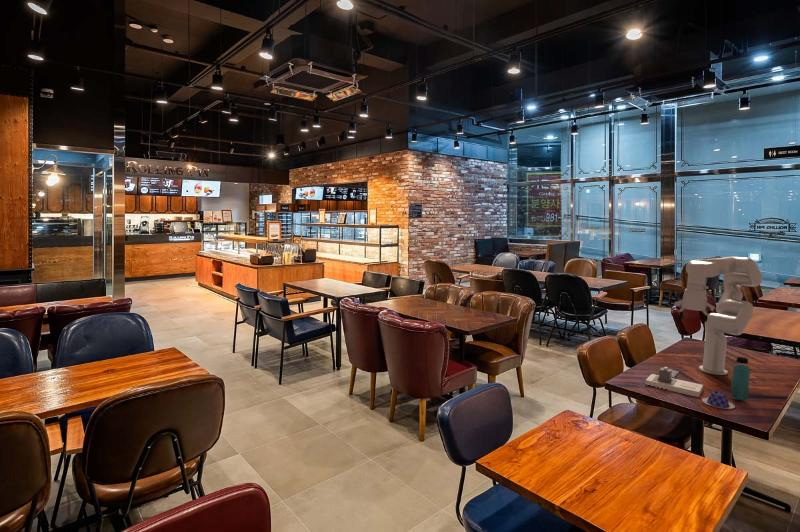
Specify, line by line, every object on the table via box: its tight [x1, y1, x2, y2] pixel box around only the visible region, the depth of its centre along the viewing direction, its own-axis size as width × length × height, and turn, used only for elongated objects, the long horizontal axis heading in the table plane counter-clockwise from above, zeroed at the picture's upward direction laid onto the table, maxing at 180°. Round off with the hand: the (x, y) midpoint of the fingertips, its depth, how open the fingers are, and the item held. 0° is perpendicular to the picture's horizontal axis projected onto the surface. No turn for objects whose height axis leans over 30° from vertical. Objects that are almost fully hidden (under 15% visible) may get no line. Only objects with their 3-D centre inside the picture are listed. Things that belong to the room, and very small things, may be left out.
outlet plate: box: [645, 373, 704, 398], centre depth 216 cm, size 12×22×3 cm, turn 49°
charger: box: [658, 366, 673, 383], centre depth 218 cm, size 4×4×9 cm
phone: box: [657, 369, 680, 379], centre depth 235 cm, size 13×7×1 cm, turn 137°
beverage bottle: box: [729, 356, 751, 401], centre depth 200 cm, size 6×7×20 cm
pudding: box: [701, 390, 736, 410], centre depth 197 cm, size 12×12×5 cm
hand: (692, 321), depth 224 cm, fingers open, 9 cm apart
